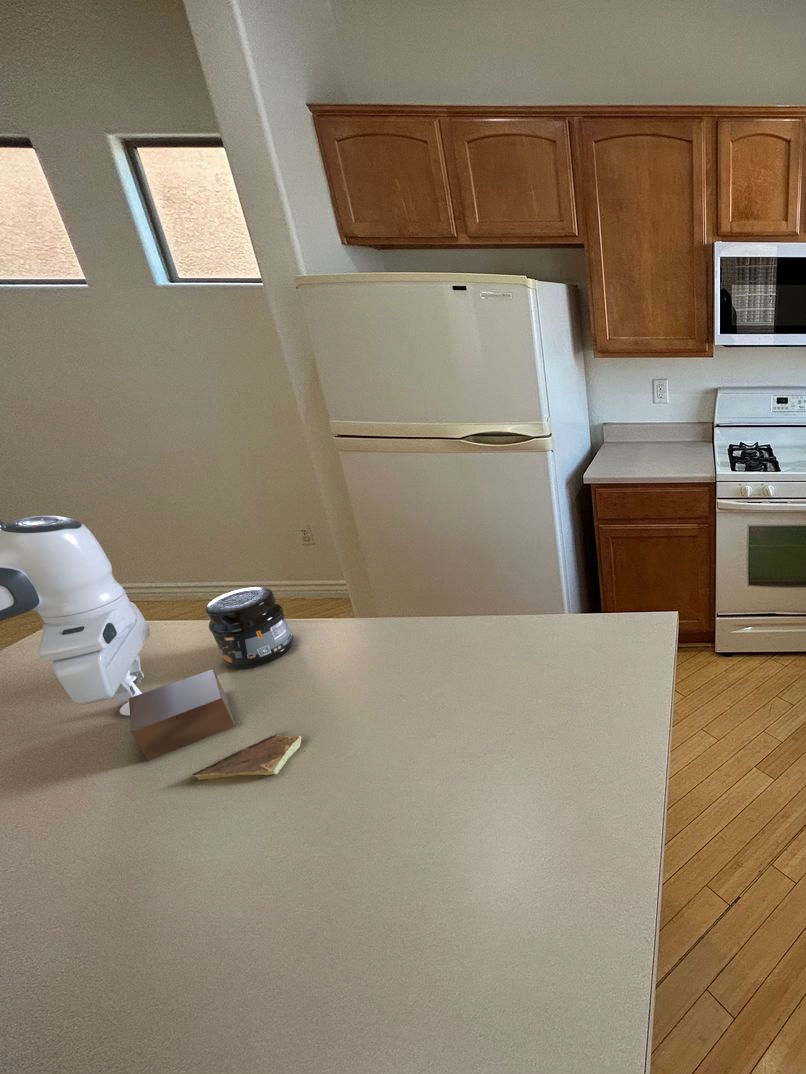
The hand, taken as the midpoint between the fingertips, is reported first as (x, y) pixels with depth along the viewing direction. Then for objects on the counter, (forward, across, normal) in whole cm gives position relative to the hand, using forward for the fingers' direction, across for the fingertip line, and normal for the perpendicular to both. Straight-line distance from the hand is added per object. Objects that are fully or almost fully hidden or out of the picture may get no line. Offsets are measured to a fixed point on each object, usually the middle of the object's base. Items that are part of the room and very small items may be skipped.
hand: (132, 690), depth 89 cm
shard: (+4, +25, +18) cm, 31 cm away
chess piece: (+4, 0, 0) cm, 4 cm away
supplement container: (+4, -8, +15) cm, 17 cm away
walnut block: (+4, +10, +8) cm, 13 cm away
